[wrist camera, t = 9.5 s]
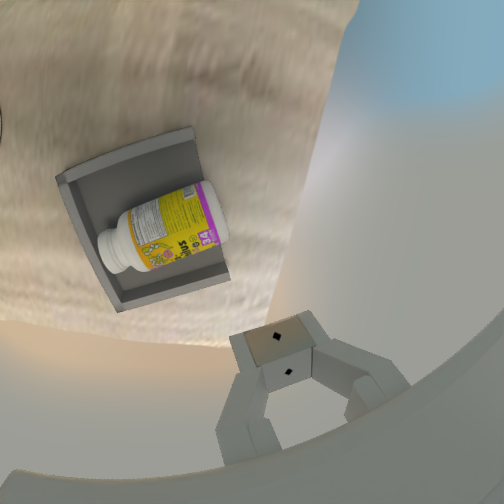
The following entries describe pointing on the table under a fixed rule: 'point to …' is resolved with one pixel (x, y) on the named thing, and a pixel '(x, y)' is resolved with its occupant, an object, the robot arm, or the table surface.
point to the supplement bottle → (165, 230)
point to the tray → (130, 196)
